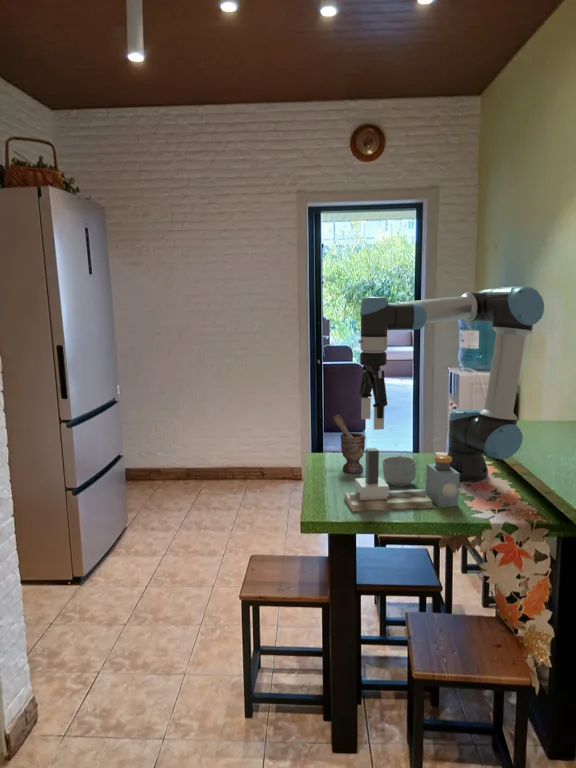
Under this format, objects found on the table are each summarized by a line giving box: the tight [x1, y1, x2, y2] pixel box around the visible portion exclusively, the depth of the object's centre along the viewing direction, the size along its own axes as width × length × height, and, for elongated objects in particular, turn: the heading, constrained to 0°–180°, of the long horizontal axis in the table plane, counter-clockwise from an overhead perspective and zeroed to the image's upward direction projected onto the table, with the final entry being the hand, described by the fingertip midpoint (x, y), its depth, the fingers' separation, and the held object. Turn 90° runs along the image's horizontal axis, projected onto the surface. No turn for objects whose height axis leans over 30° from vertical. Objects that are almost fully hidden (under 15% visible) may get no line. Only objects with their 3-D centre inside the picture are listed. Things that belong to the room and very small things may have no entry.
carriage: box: [354, 447, 390, 500], centre depth 157 cm, size 8×8×14 cm
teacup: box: [381, 454, 417, 487], centre depth 178 cm, size 14×11×8 cm
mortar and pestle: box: [332, 413, 366, 474], centre depth 190 cm, size 12×9×20 cm
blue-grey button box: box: [425, 463, 460, 508], centre depth 160 cm, size 6×10×10 cm, turn 7°
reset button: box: [433, 454, 452, 471], centre depth 160 cm, size 5×5×7 cm
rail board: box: [344, 488, 434, 513], centre depth 159 cm, size 24×10×4 cm, turn 97°
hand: (372, 423), depth 155 cm, fingers open, 13 cm apart
